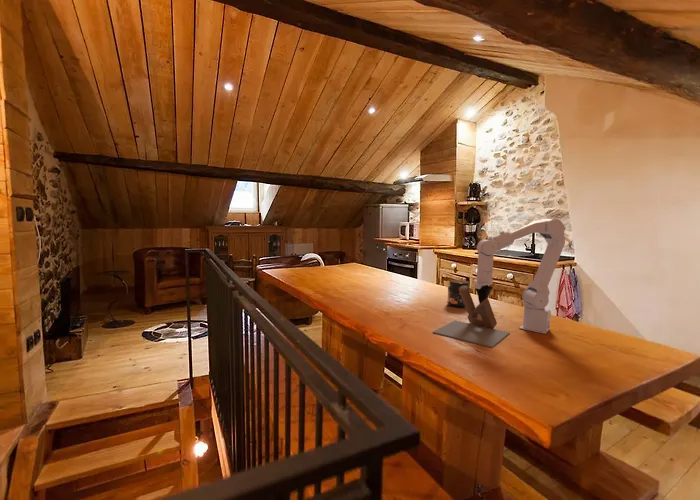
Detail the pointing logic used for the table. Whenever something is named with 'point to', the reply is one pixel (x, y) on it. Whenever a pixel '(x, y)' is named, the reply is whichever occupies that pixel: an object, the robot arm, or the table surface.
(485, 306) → the wooden block
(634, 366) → the table surface
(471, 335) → the mat
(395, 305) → the table surface
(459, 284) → the supplement container
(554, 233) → the robot arm
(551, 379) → the table surface
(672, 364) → the table surface
